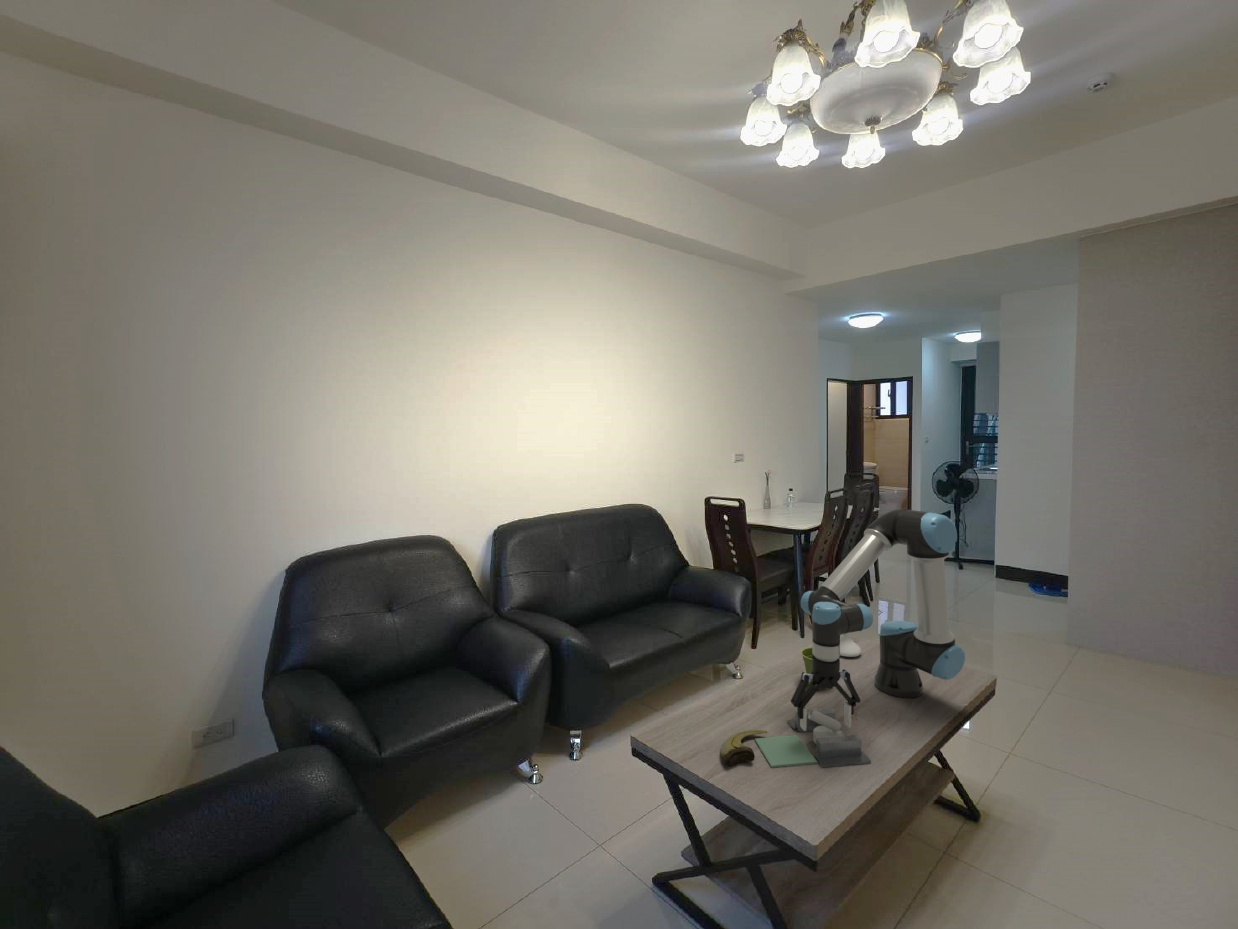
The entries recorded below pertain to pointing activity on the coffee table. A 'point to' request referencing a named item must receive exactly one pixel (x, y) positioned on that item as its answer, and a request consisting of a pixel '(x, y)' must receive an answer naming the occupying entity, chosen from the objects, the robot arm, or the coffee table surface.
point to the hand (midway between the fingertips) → (825, 727)
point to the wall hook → (824, 725)
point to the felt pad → (785, 751)
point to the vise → (833, 745)
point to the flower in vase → (848, 647)
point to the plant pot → (808, 660)
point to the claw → (738, 748)
